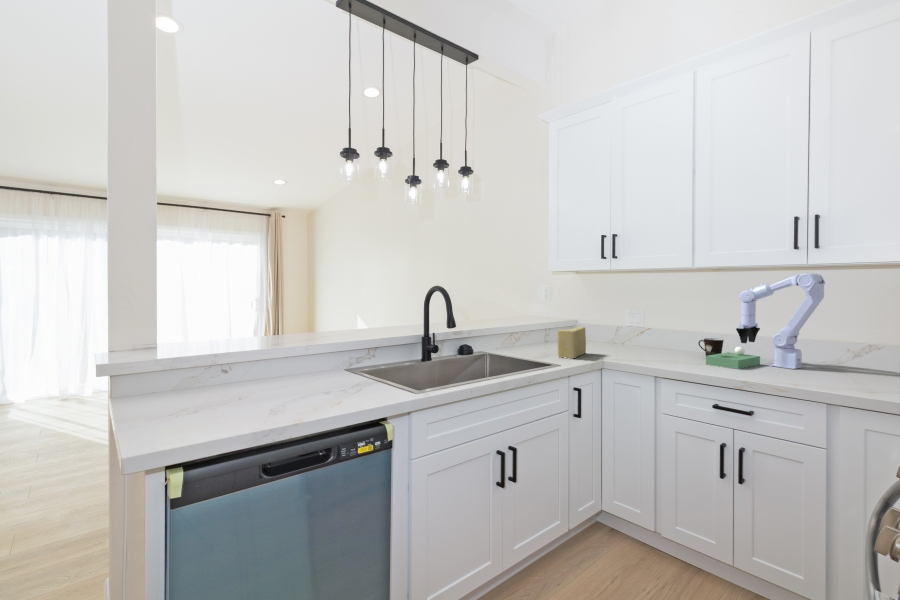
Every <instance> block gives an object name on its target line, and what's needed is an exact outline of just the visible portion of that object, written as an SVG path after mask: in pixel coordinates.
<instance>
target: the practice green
mask: <svg viewBox="0 0 900 600" xmlns="http://www.w3.org/2000/svg"><path fill="white" fill-rule="evenodd" d="M708 364H710V365H709V366H714V365H715V367H721V366H722V367H723V368H727V367H728V369H734V368H736V369H735V370H740V369H739V368H741V369H745V368H744V367H746V368H750V367H749V366H751V367H755V365H756V366H761V356H760V355H753V354H745V353H744V354H742V355H737V354H736V353H735V352H729V351H727V352H722V353H721V354H715V355H708V356H706V355H705V365H708ZM722 367H721V368H722Z"/></svg>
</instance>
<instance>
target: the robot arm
mask: <svg viewBox="0 0 900 600" xmlns="http://www.w3.org/2000/svg"><path fill="white" fill-rule="evenodd" d="M825 284H826V281H825V279H824V278H823V276H822V275H821V274H820V273H815V272H813V273H809V272H804V273H802V274H796V275H793V276H790V277H788V278H785V279H783V280H781V281H777V282H775V283H772V284H769V283H760V285H759V286H756V287H750V288H749V289H746V290H745V289H744V290H743V291H740V293H739V295H738V296H739V297H738V298H739V299H740V302H741V309H740V310H741V312H740V313H741V315H740V322H741V323H738V325H737V326H738V327H736V328H735V330H736V332H737V334H738V336H739V340H740V343H741V344H747V343H748V342H749V343H755V342H756V338H757V335H758V333H759V331H760V330H761V328H760V327H758V325H759V324H758V322H756V311H757V309H756V302H757V300H761V299H764V298H767V297H769V296H773V295H774V293H775V292H776V291H779V290H783V289H786V288H789V287H792V286H800V288H801V289H802V290H804V294H806V297H805V299H804V300H803V301H802V303H800V305H799V307H798V309H797V310H796V311H795V313H794V314H793V315H792V317H791V318H790V319H789V321H788V323H787V324H786V325H785V326H784V327H783V328H781V329H780V330H779V332H778V333H775V334H774V335H773V336H772V338H771V339H772V343H773V345H774V352H773V354H774V355H773V356H774V357H773V358H774V359H773V360H774V361H773V363H772V364H770V365H769V366H770V367H778V368H783V369H790V370H791V369H792V370H796V369H800V368H803V366H802V357H803V355H802V350H801V349H800V348H795V344H796V343H797V341H798V337H799V335H800V330H801V329H802V328H803V326H805V324H806V322H807V321H808V320H809V318H810V317H811V315H812V314H813V313H814V312H815V310H816V309H817V307H818V306H819V305H820V304H821V302H822V301H823V300H824V297H825Z"/></svg>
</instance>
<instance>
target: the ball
mask: <svg viewBox="0 0 900 600" xmlns="http://www.w3.org/2000/svg"><path fill="white" fill-rule="evenodd" d="M745 351H746V350H745V348H744V347H742V346H736V347H735V348H734V353H736V354H737V355H742V354H745Z"/></svg>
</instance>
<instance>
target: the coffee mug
mask: <svg viewBox="0 0 900 600" xmlns="http://www.w3.org/2000/svg"><path fill="white" fill-rule="evenodd" d="M701 342H703V343H704V348H703V346H701V344H700V343H701ZM697 343H698V346H699V347H700V349H701V350H703V351H704V353H705V357H706V356H708V355H715V354H721V353H723V346H724V339H723V338H715V337H704V338H703V339H701V340H699V341H698V342H697Z"/></svg>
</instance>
